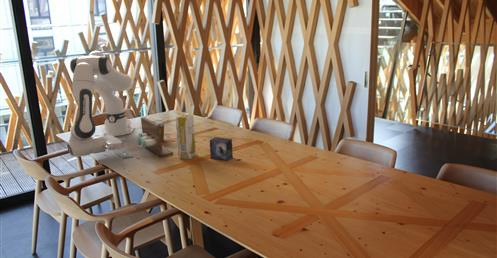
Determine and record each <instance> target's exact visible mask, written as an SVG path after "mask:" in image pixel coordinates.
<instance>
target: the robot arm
mask: <svg viewBox="0 0 497 258" xmlns="http://www.w3.org/2000/svg"><path fill="white" fill-rule="evenodd" d="M69 65H70V66H69V68H70V71H71V72H72V76H73V77H72V85H71V86H72V94H73V96H74V97H75V98H76V99H77V100H78V117H77V120H76V122H75V123H74V124H73V125H72V127H71V129H70V137H69V139H68V142H67V143H66V146H67V147H66V148H67V151H68V153H69V154H70V156H72V157H75V158H76V157H77V158H79V157H86V156H89V155H92V154H100V153H105V152H106V151H107V150H109V151H115V150H121V149H124V143H126V142H128V140H127V138H126V137H119V136H124V135H128V134H132V133H133V131H134V129H135V128H136V127H135V126H133V125H132V124H131V120H130V119H129V118H128V117H127V116H126V114H127V110H124V109H125V108H124V101H123V100H122V98H121V97H119V96H117V95H115V93H114V92H125V91H129V90H130V89H131V88H132V86H133V85H132V84H133V81H132V77H130V75H129V74H125V73H123V72H121V71H119V70H117V69H116V68H114V66H112V63H111V60H110V58H108V56H106V55H105V54H104V53H103V52H101V51H99V50H94V51H91V52H90V53H89V54H88V55H85V56H76V57H73V58H72V59H71V60H70V63H69ZM94 91H95V92H96V93H98V94H99V95H100V97H101V98H102V100H103V103H104V107H105V119H106V120H104V131H103V134H101V135H100V134H97V135H94V134H96V133H95V132H96V125H95V122H94V119H93V98H94ZM93 135H94V137H93ZM117 136H118V137H117Z"/></svg>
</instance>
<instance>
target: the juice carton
mask: <svg viewBox="0 0 497 258" xmlns="http://www.w3.org/2000/svg"><path fill="white" fill-rule="evenodd" d="M194 120H195V119H194V115H193V114H192V113H191V114H190V113H187V112H186V113H184V114H183V113H182V114H180V115H179V116H177V117H176V118H175V128H176V129H175V130H176V142H177V152H178V157H179V159H181V160H183V159H184V160H191V159H192V158H193V157H194V156H196V136H195V124H194V123H195V121H194Z"/></svg>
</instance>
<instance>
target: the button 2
mask: <svg viewBox="0 0 497 258" xmlns="http://www.w3.org/2000/svg"><path fill="white" fill-rule="evenodd" d="M153 145H157V140H156V138H154V139H149V140H142V144H141V146H142V148H143V149H145V148H146V147H148V146H153Z"/></svg>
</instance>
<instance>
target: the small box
mask: <svg viewBox="0 0 497 258" xmlns="http://www.w3.org/2000/svg"><path fill="white" fill-rule="evenodd" d="M209 150H210V159H213V160H217V161H223V162H228V161H229V160H231V159H233V158H234V156H233V139H232V138H225V137H218V136H215V137H213V138H211V139H209Z"/></svg>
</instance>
